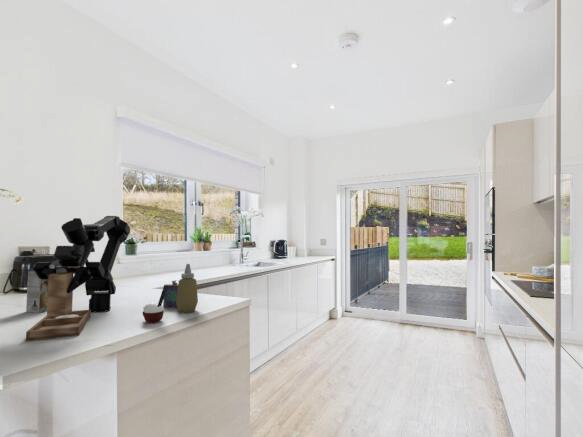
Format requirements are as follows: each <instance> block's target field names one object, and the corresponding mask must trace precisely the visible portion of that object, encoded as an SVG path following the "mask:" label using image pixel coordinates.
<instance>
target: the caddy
mask: <svg viewBox="0 0 583 437" xmlns="http://www.w3.org/2000/svg"><path fill="white" fill-rule="evenodd" d="M91 316H92V313H91V310H89V309H82V310H81V309H80V310H72V312H71V313H69V314H67V315H65V316H47V314H46V315H44V317H43V318H41V319H40V320H39V321H37V323H35V324H34V325H33V326H31V327H30V328H29V329H28V330H27V331H26V332H25V342H31V341H41V340H49V339H59V338H60V339H61V338H66V337H76V336H80V334H81V332H83V330H84V327H85V326H86V325H87V323H88V322H89V321H90V318H91Z"/></svg>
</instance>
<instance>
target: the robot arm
mask: <svg viewBox="0 0 583 437" xmlns="http://www.w3.org/2000/svg"><path fill="white" fill-rule="evenodd" d="M60 229H61V231H62V232H63V234H64V236H65V238H66V240H67V242H68V243H70V244H72V245H56V247H55V250H54V252H53V253H54V254H53V257H54V258H56V259H58V260H57V263H58V264H59V265H55V264H53V262H50V261H45V262H44V261H43V262H42V261H39V262H38V261H37V262H35V263H34V265H33V266H32V268H31V269H33V270H34V272H35V273H36V274H37V276H38V277H39V279H42V280H49V275H51V274H55V273H56V271H57V269H59V268H65V269H66V270H67V273H73V279H72V281H71V283H70V285H69V286H68V289H67V293H70V292H72V291H73V292H74V290H76V289H77V288H79V287H80V286H82V285H83V284H84V288H85V294H86V296H90V298H89V299H88V310H91V314H92V313H101V312H110V311H111V308H112V306H111V299H112V298H111V296H112V295H115V294H116V290H117V286H116V285H115V283H114V277H113V275H112V273H111V272H112V269H113V267H114V264H115V261H116V258H117V255H118V252H119V250H120V247H121V244H122V243H124V242H125V241H126V240H128V238H129V235H130V234H131V227H130V226H129V224H128V222H126V221H124V220H123V219H121V218H120V216H117V215H107V216H104V217H103V218H101V219H98V221H95V222H93V223H90V224H88V223H86V224H83V222H82V219H81V218H79V217H75V218H72V220H69V221H67V222H65V223H63V224H62V225H61V228H60ZM105 234H106V235H107V238H108V240H107V243H106V245H105V248H104V251H103V253H102V256H101V258H100V260H99V261H89V256H90V254H91V253H95V251H96V250H95V243H94V242H100V241H102V239H103V238H104V237H105ZM47 292H48V291H47Z"/></svg>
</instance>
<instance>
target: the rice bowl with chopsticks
mask: <svg viewBox="0 0 583 437" xmlns="http://www.w3.org/2000/svg"><path fill="white" fill-rule="evenodd" d="M166 290H167V286H164V285H163V287H162V290H161V294H160V297H159V300H158V302H154V301H153V302H149V303H148V304H145V305H144V306H143V310H142V316H143V318H144V321H145V322H146V323H147V324H156V323H159V322H160V321H162V319H163V317H164V314H165V307H164V306H163V300H164V296H165V293H166Z"/></svg>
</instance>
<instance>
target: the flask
mask: <svg viewBox="0 0 583 437" xmlns="http://www.w3.org/2000/svg"><path fill="white" fill-rule="evenodd" d="M178 283H179V282H177V280H172V281H171V283H169V284H168V283H167V284H164V285H163V287H164V286H167V290H166V293H165V296H164V299H163V302H162V306H163V307H164V308H170V307H175V308H174V309H178V307H177V304H176V299H177V291H178Z"/></svg>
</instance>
